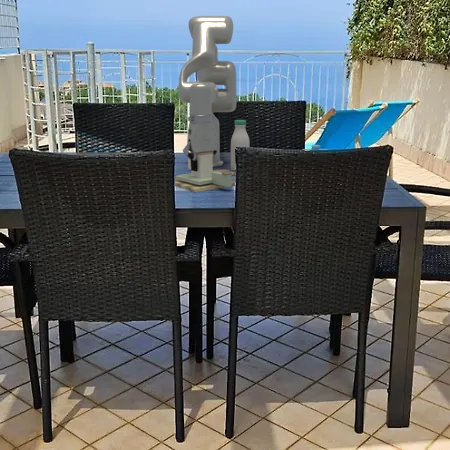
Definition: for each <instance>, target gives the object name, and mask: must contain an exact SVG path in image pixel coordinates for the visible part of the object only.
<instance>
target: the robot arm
mask: <svg viewBox="0 0 450 450" xmlns="http://www.w3.org/2000/svg"><path fill="white" fill-rule="evenodd" d="M188 30H189V33H190V37H191V39H192V48H191V49H192V51H191V52H192V53H191V54H192V55H191V58H190V59H188V60H187V61H186V63H184V64H183V66H182V68H181V70H180V71H179V77H178V88H177V89H178V98H179V100H180V101H181V102H182V103H185V104H189V110H190V113H189V114H190V115H189V116H188V117H187V121H188V122H190V123H189V124H188V129H187V136H186V137H187V140H186V142H187V143H186V145H185V146H184V148H183V149H182V153H183V154H185V155H186V157H187V159H188V158H189V159H190V160H191V169H190V171H191V170H192V171H195V172H196V171H198V168H197V160H196V157H197V153H201V152H209V151H213V153H212V154H213V167H214V168H215V167H220V166H223V165H224V161H223V160H221V159H220V158H221V157H220V154H221V153H220V152H221V151H220V148H221V145H220V121H219V119H218V118H217V117H216V116H215V114H214V113H231V112H234V111H235V110H236V109H237V70H236V65H235V64H234V62H232V61H230V60H229V61H228V60H222V61H221V60H219V59H218V57H219V54H218V52H219V51H218V50H219V49H218V47H217V45H228V44H230V43H231V42H232V39H233V33H234V22H233V20H232V18H231V17H230V16H229V15H200V16H193V17H191V18H190V19H189V21H188ZM195 73H196V76H197V80H198V81H188V79H189V77H191V75H193V74H195ZM218 86H223V87H225V88H219V87H218ZM190 151H191V153H190ZM193 153H194V154H193Z"/></svg>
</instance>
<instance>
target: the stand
mask: <svg viewBox="0 0 450 450" xmlns="http://www.w3.org/2000/svg"><path fill="white" fill-rule="evenodd" d="M174 179H175V178H174ZM235 182H236V181H234V180H232V186H231V187H235ZM175 187H178V188H180V189H184V190H188V191H190V192H193V193H200V192H204V191H211V190H216V189H223V188H226V187H225V186H221V185H217V184H213V183H208V184H203V185H197V184H193V183H189V182H185V181H181V180H176V179H175Z"/></svg>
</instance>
